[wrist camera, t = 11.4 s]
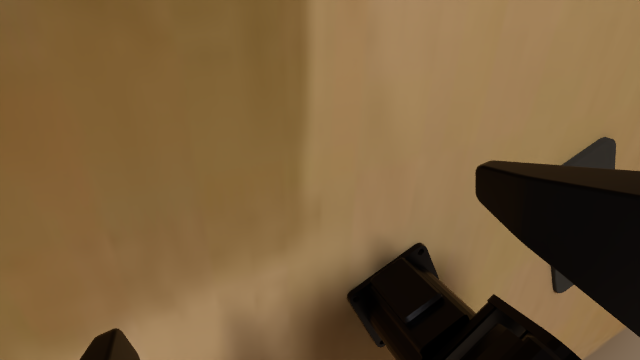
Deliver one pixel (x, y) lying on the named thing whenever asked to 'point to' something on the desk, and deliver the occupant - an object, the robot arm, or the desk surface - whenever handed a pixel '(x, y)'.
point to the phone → (592, 157)
